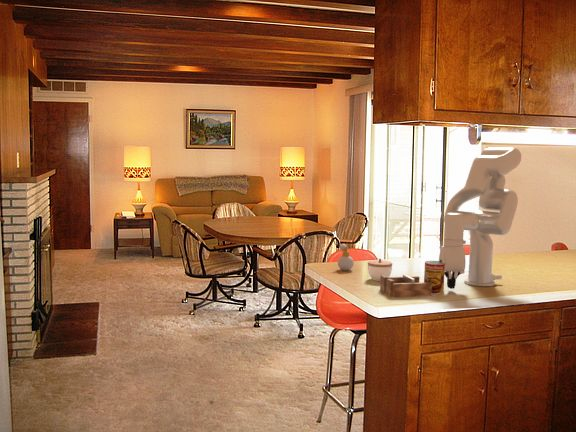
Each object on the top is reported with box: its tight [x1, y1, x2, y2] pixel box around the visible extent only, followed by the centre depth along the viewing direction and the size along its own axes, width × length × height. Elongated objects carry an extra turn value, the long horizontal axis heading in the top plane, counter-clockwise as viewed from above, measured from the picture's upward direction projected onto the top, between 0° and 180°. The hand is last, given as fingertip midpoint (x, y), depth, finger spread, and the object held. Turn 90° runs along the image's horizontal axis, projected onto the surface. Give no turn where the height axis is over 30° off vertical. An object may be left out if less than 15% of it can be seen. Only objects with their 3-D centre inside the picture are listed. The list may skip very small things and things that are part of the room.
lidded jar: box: [367, 258, 393, 282], centre depth 271 cm, size 11×11×9 cm
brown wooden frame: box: [379, 275, 433, 298], centre depth 247 cm, size 17×14×6 cm
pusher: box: [402, 274, 415, 283], centre depth 246 cm, size 10×9×6 cm
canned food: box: [423, 260, 445, 295], centre depth 249 cm, size 8×8×12 cm
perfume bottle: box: [337, 243, 355, 271], centre depth 292 cm, size 8×10×12 cm
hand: (451, 287), depth 251 cm, fingers closed
